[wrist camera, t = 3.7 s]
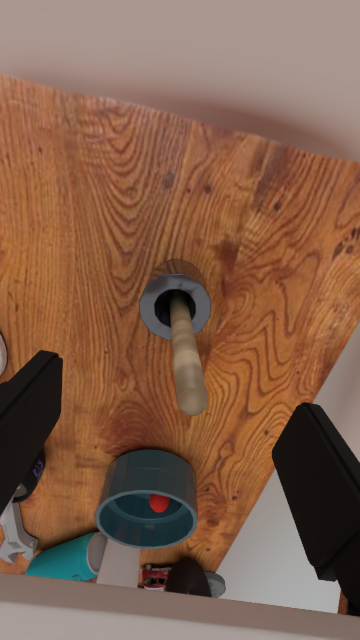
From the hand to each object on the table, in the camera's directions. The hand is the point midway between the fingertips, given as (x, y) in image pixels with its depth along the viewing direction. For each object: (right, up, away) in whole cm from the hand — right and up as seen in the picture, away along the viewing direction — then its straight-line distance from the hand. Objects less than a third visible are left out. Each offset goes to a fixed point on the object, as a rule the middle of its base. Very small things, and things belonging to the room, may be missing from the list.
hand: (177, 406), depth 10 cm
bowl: (-4, -20, +27) cm, 34 cm away
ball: (-3, -23, +26) cm, 35 cm away
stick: (0, +6, +15) cm, 16 cm away
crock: (0, +7, +15) cm, 17 cm away
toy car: (-4, -46, +39) cm, 60 cm away
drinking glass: (-10, -34, +34) cm, 49 cm away
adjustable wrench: (-27, -29, +32) cm, 51 cm away
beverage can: (-26, -43, +34) cm, 61 cm away
